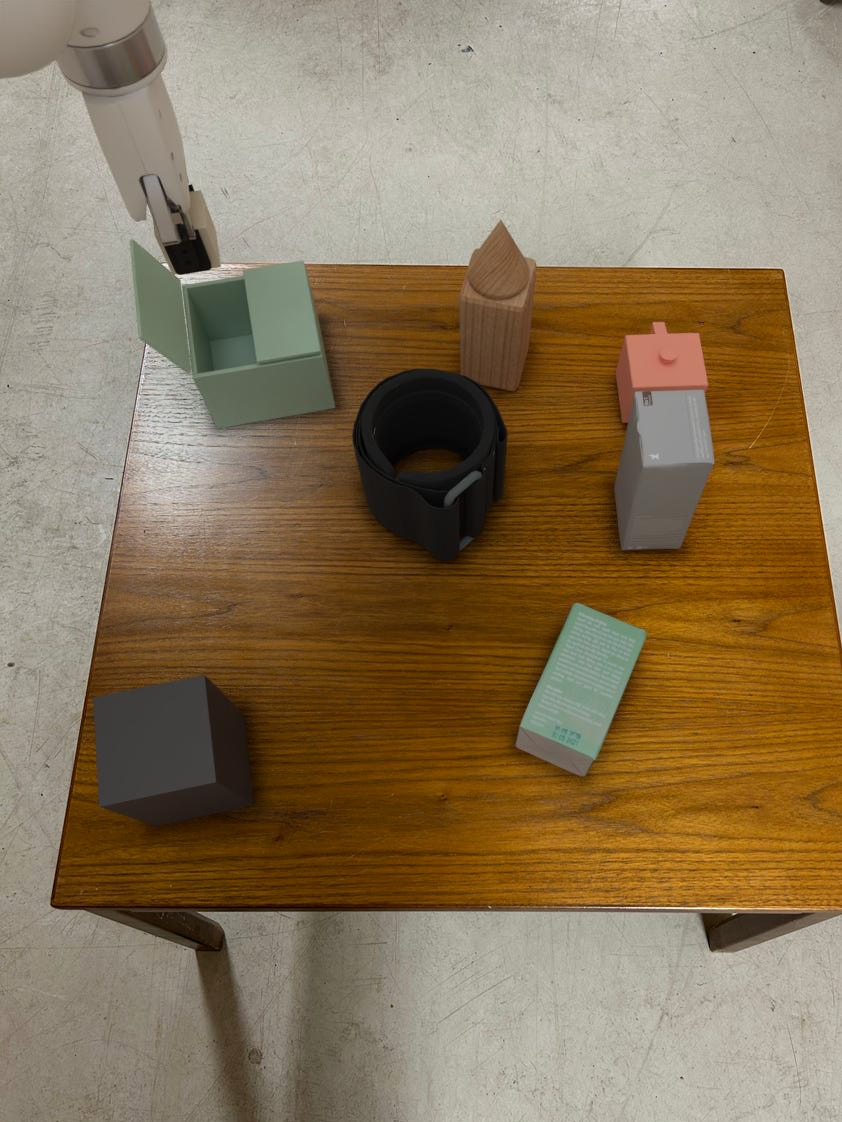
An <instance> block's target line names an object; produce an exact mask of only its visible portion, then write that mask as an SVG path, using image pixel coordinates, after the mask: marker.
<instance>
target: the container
mask: <svg viewBox="0 0 842 1122" xmlns="http://www.w3.org/2000/svg"><path fill="white" fill-rule="evenodd" d="M242 274H243V275H240V276H239V275H238V276H233V277H225V278H220V279H215V280H208V281H207V280H206V281H201V282H195V283H189V284H181V289H182V297H183V306H184V314H185V323H186V331H187V340H188V348H189V356H190V365H191V374H192V380H193V381H194V384H195V387H196V388H197V390H198V391H199V394H200V396H201V398H202V400H203V402H204V404H205V406H206V407H207V410H208V412H209V414H210V417H211V418H212V420H213V422H214V424H215V426H216V428H217V429H225V428H228V427H229V428H230V427H235V426H240V425H247V424H252V423H258V422H264V421H270V420H276V419H281V418H282V419H283V418H287V417H291V416H298V415H304V414H309V413H310V414H311V413H315V412H322V411H326V410H327V411H328V410H333V409H336V403H335V397H334V392H333V386H332V381H331V377H330V371H329V365H328V361H327V354H326V350H325V344H324V339H323V334H322V329H321V323H320V319H319V315H318V311H317V306H316V303H315V299H314V298H315V297H314V294H313V291H312V286H311V282H310V279H309V274H308V269H307V266H306V265H305V261H304V260H303V259H302V260H297V261H291V262H285V263H284V262H283V263H278V264H272V265H271V264H270V265H265V266H264V265H263V266H259V267H252V268H246V269H243V270H242Z"/></svg>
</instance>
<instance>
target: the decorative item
mask: <svg viewBox="0 0 842 1122" xmlns="http://www.w3.org/2000/svg"><path fill="white" fill-rule="evenodd" d="M537 268H538V265H537V262H536V259H533V257H527V256H524V254H523V253H522V251H521V250H520V248H519V247H518V244H517V243H516V241H515V240H514V238H513V237H512V235H511V233H510V232H509V230H508V228H507V227H506V225H505V224H504V222H503V220H502V219H500V220H499V221H498V223H497V224H496V225H495V227H494V228H493V229H492V231H491V232H490V233H489V234H488V236H487V238H485V240H484V241H483V243H482V244H481V245H480V247H479V248H475V249H474V250H473V252H472V253H471V256H470V259H469V263H468V265H467V269H466V273H465V276H464V279H463V282H462V286H461V289H460V293H459V296H458V297H459V352H460V353H459V354H460V355H459V357H460V358H459V359H460V360H459V361H460V375H463V376H467V377H468V378H470V379H472V380H474V381H476V382H478V383H479V384H480V385H481V386H482V387H488V388H492V389H498V390H503V391H506V392H507V391H509V392H516V391H517V390H518V388H519V387H520V383H521V379H522V375H523V371H524V368H525V364H526V360H527V356H528V352H529V348H530V338H531V328H532V320H533V319H532V318H533V310H534V297H535V291H536V290H535V288H536V279H537Z"/></svg>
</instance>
